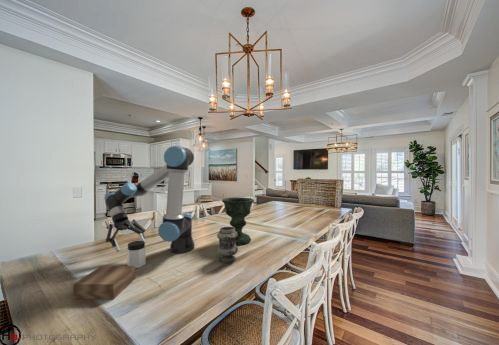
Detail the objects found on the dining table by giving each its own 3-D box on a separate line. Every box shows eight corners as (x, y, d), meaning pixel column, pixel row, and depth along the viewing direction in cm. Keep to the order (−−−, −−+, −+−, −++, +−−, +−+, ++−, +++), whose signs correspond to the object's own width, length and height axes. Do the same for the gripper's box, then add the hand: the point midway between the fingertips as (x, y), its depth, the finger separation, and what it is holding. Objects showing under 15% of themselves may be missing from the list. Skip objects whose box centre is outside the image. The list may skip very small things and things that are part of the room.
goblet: (257, 245, 146) (257, 201, 145) (224, 248, 140) (224, 202, 140) (249, 235, 167) (249, 196, 166) (220, 237, 162) (220, 197, 161)
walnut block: (135, 278, 101) (135, 265, 101) (113, 299, 85) (113, 284, 85) (101, 278, 101) (101, 265, 101) (73, 299, 85) (73, 284, 85)
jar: (124, 269, 110) (124, 246, 110) (129, 262, 118) (129, 241, 118) (143, 267, 112) (143, 244, 112) (147, 261, 120) (147, 239, 120)
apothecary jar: (224, 253, 131) (224, 224, 130) (241, 257, 125) (241, 226, 125) (212, 261, 120) (212, 229, 120) (231, 265, 115) (231, 232, 114)
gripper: (138, 216, 137) (151, 244, 128) (92, 224, 116) (103, 258, 108) (142, 208, 133) (156, 237, 125) (95, 215, 113) (108, 250, 105)
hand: (131, 247), depth 116 cm, fingers open, 13 cm apart
